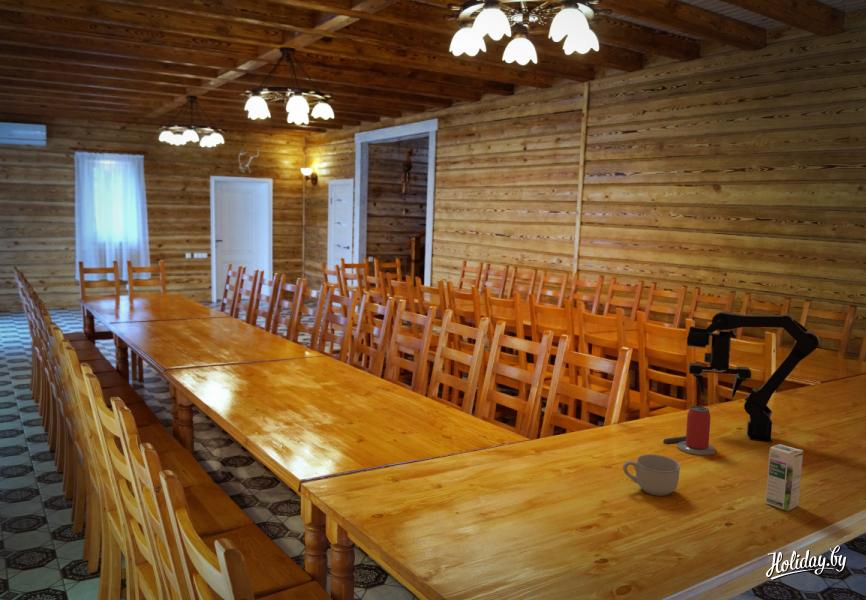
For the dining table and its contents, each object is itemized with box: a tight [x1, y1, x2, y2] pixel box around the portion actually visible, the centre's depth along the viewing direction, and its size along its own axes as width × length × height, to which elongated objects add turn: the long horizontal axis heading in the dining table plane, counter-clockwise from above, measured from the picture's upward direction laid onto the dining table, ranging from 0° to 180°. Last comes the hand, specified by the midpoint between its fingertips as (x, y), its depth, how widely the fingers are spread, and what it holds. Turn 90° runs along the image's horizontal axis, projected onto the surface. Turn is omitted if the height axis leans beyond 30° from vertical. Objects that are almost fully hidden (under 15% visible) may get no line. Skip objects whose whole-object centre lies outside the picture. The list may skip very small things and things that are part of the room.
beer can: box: [685, 405, 711, 450], centre depth 203 cm, size 7×7×12 cm
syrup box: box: [764, 443, 804, 512], centre depth 163 cm, size 6×6×14 cm
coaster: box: [676, 441, 717, 456], centre depth 204 cm, size 11×11×1 cm
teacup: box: [622, 453, 681, 497], centre depth 172 cm, size 14×11×8 cm
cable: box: [662, 435, 686, 445], centre depth 211 cm, size 11×2×2 cm, turn 111°
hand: (717, 395), depth 221 cm, fingers open, 9 cm apart
